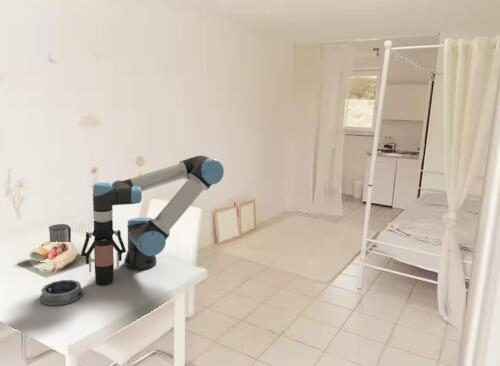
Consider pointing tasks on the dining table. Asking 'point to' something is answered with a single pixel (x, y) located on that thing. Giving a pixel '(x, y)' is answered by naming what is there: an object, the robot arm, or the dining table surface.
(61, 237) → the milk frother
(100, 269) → the travel mug
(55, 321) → the dining table surface
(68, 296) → the collar
